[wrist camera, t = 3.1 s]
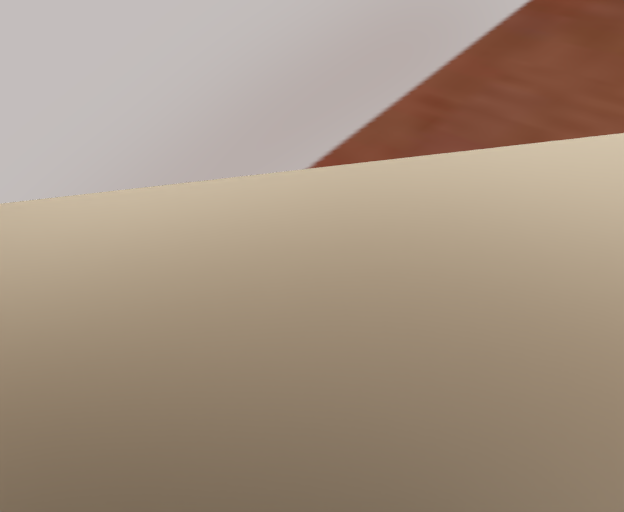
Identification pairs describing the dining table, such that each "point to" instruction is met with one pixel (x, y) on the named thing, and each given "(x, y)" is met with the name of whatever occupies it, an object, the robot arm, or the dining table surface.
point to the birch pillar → (322, 339)
